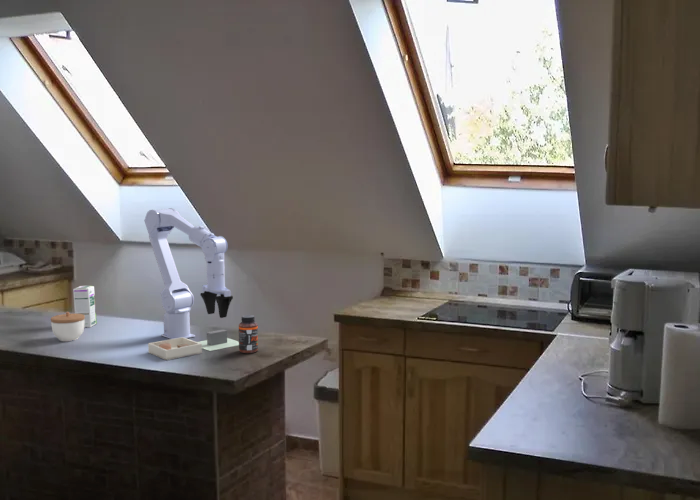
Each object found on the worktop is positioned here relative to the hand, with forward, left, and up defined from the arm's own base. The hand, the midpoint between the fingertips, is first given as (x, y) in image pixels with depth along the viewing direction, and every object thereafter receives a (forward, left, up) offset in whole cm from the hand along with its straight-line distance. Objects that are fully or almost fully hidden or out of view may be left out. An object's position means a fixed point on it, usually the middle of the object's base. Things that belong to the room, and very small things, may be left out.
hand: (217, 315), depth 234 cm
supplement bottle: (+15, +2, -10) cm, 18 cm away
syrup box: (-56, -22, -10) cm, 61 cm away
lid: (0, 0, -10) cm, 10 cm away
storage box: (+1, -16, -9) cm, 19 cm away
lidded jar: (-40, -34, -10) cm, 53 cm away
